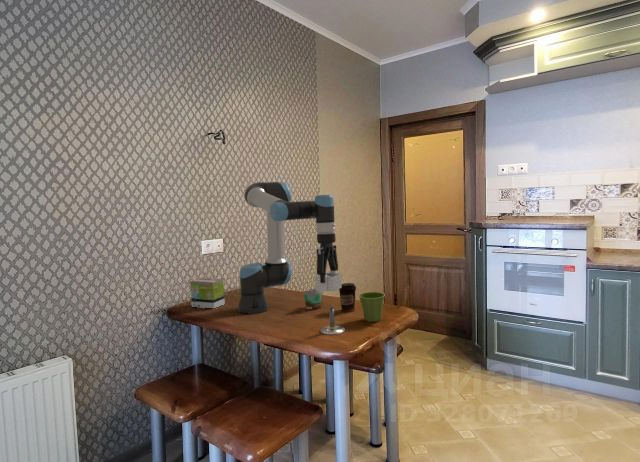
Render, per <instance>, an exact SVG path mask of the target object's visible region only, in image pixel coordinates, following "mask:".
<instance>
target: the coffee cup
mask: <svg viewBox="0 0 640 462" xmlns="http://www.w3.org/2000/svg"><path fill="white" fill-rule="evenodd" d="M338 290H339V298H340V306H341V311H342V312H346V313H348V312H354V311H355V310H356V308H355V302H356V290H357V286H356V284H355V283H353V282H346V283H342V288H340V289H338Z"/></svg>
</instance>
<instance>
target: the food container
mask: <svg viewBox="0 0 640 462" xmlns="http://www.w3.org/2000/svg"><path fill="white" fill-rule="evenodd" d="M323 292H324V291H316V288H311V289H309V290H304V291H303V296H304V302H305V310H306V311H316V310H320V309H321V308H322V293H323Z"/></svg>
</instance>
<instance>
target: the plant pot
mask: <svg viewBox="0 0 640 462" xmlns="http://www.w3.org/2000/svg"><path fill="white" fill-rule="evenodd" d="M385 296H386V294H385V292H378V291H367V292H362V293H359V294H358V296H357V297H358V298H359V300H360V303H361V308H362V312H363V317H364V320H365V321H366V322H369V323H372V322H375V323H376V322H380V321H382V315H383V307H384V306H383V305H384V299H385Z"/></svg>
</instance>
